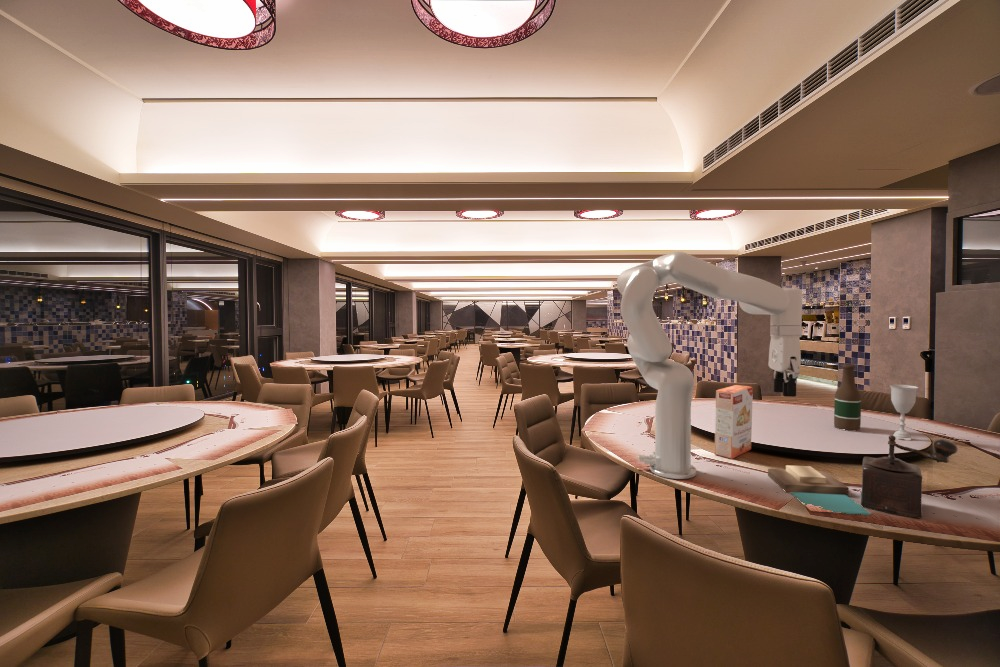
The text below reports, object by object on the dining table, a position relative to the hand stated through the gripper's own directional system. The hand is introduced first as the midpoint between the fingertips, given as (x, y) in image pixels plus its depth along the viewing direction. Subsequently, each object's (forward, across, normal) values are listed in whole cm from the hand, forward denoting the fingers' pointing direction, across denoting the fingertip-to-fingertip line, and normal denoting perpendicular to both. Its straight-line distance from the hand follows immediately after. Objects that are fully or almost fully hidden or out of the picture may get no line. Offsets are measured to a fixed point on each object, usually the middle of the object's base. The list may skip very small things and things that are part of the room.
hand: (784, 393), depth 127 cm
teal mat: (+21, +24, 0) cm, 33 cm away
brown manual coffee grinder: (+22, +25, +16) cm, 36 cm away
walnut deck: (+21, +14, 0) cm, 25 cm away
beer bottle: (+22, -44, +39) cm, 63 cm away
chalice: (+22, -33, +50) cm, 64 cm away
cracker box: (+22, -11, -10) cm, 26 cm away
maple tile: (+19, +13, 0) cm, 23 cm away
